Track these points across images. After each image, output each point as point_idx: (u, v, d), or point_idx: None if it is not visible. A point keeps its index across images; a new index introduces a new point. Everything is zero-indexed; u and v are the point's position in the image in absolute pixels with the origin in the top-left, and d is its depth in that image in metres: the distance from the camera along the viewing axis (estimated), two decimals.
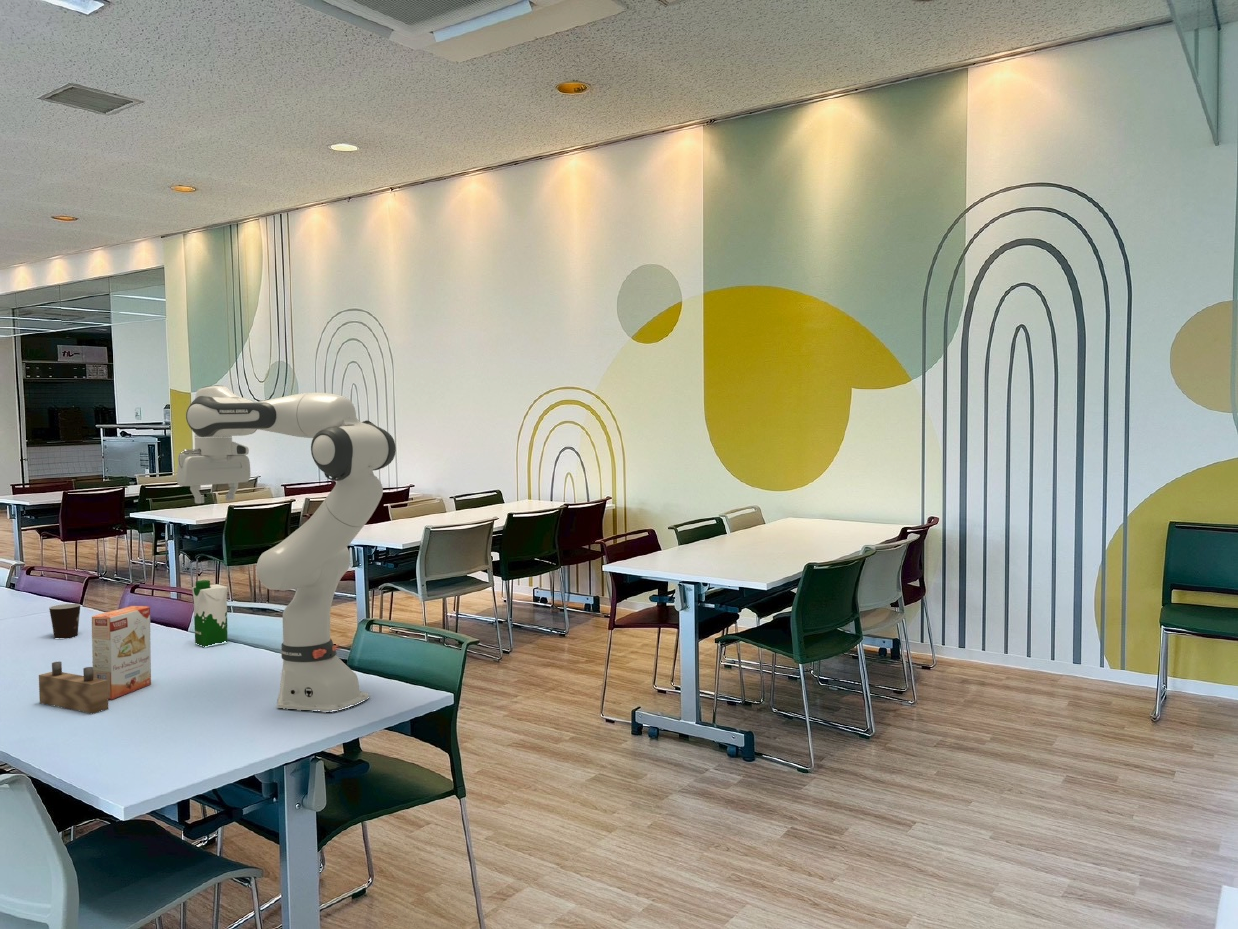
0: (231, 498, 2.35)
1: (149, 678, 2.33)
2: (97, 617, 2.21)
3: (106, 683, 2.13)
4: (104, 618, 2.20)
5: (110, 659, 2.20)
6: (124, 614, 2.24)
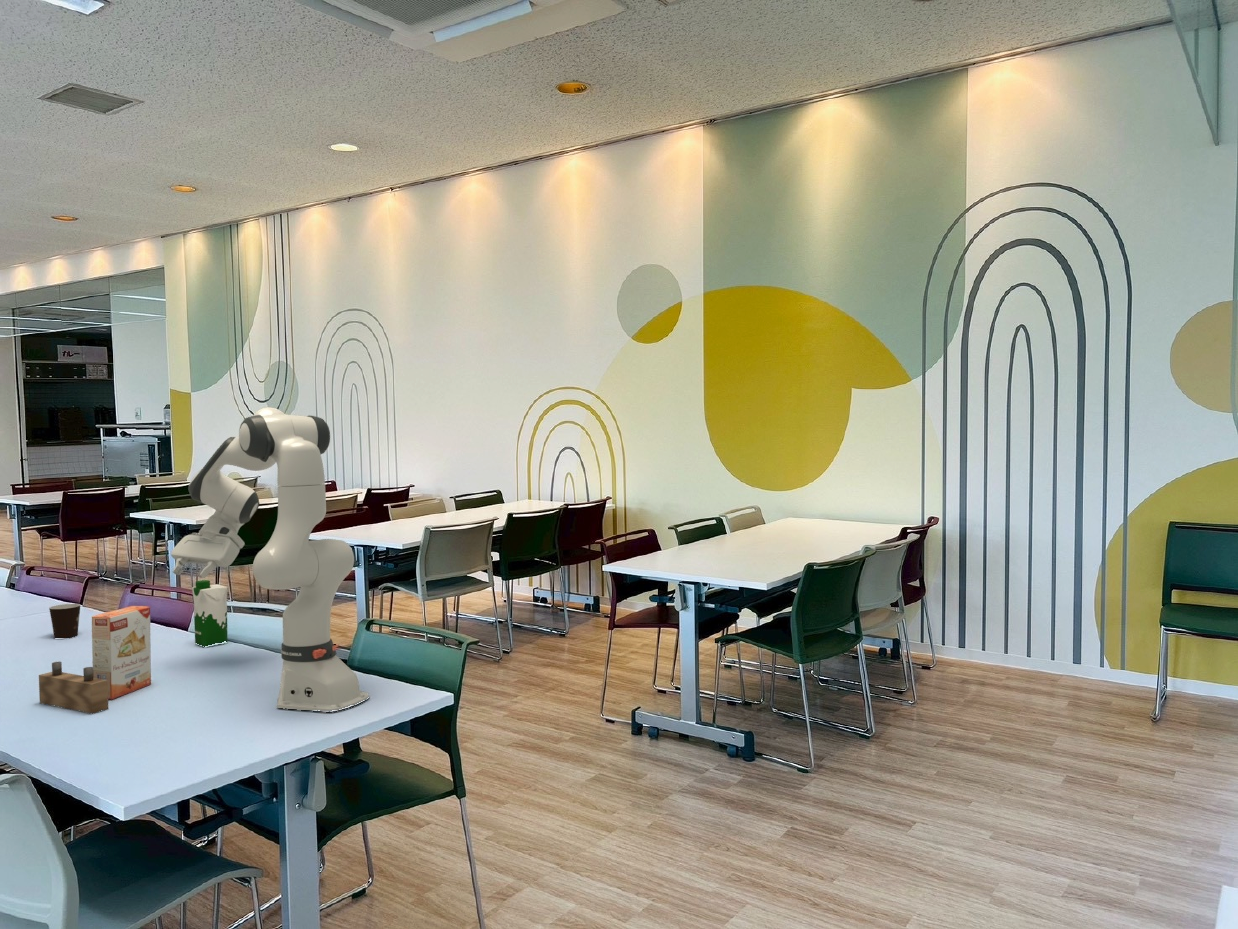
0: (199, 573, 2.43)
1: (149, 678, 2.33)
2: (97, 617, 2.21)
3: (106, 683, 2.13)
4: (104, 618, 2.20)
5: (110, 659, 2.20)
6: (124, 614, 2.24)
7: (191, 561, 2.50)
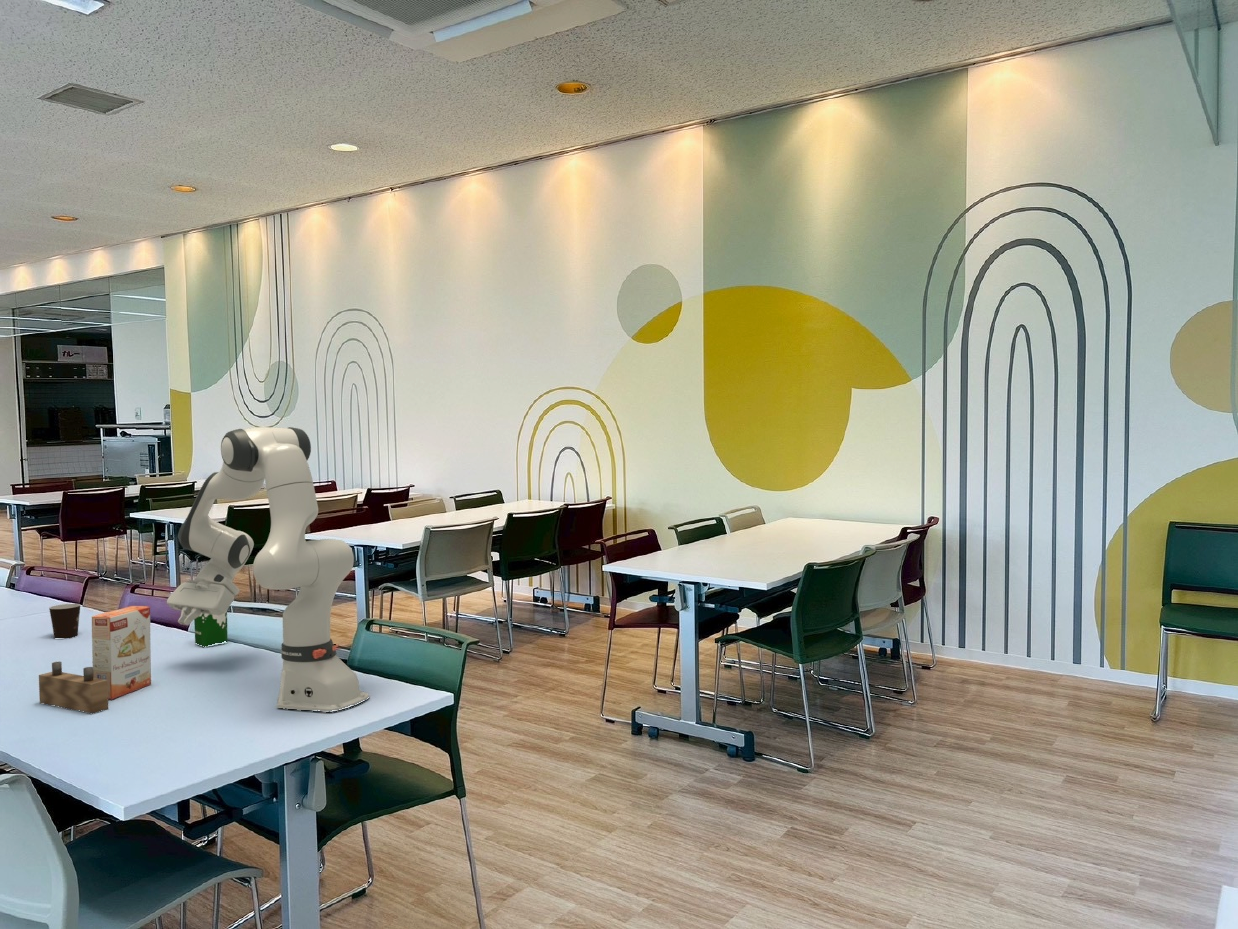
0: (183, 620, 2.43)
1: (149, 678, 2.33)
2: (97, 617, 2.21)
3: (106, 683, 2.13)
4: (104, 618, 2.20)
5: (110, 659, 2.20)
6: (124, 614, 2.24)
7: None
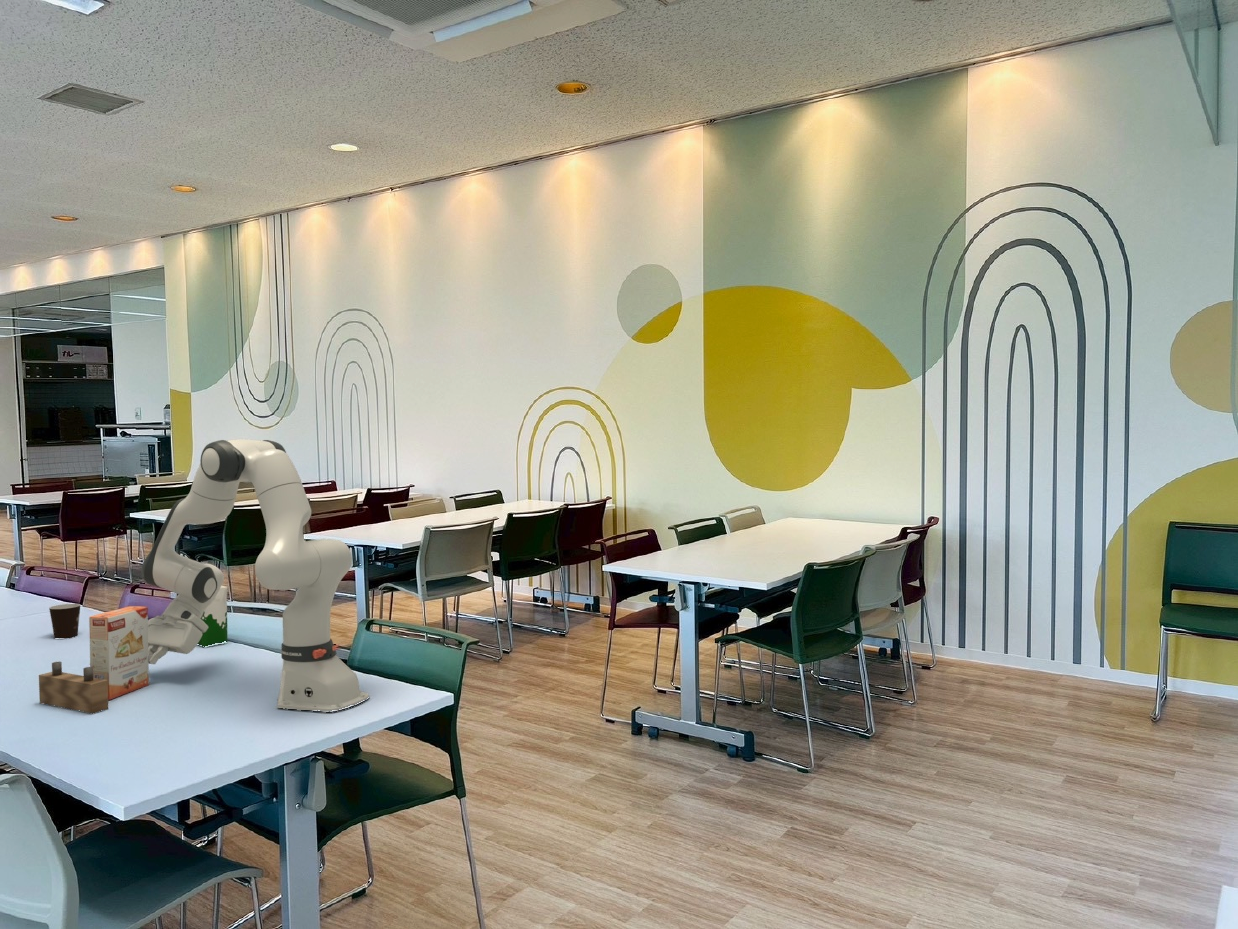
0: (148, 659, 2.34)
1: (147, 678, 2.33)
2: (95, 617, 2.20)
3: (106, 683, 2.13)
4: (102, 618, 2.20)
5: (108, 659, 2.20)
6: (122, 614, 2.24)
7: None
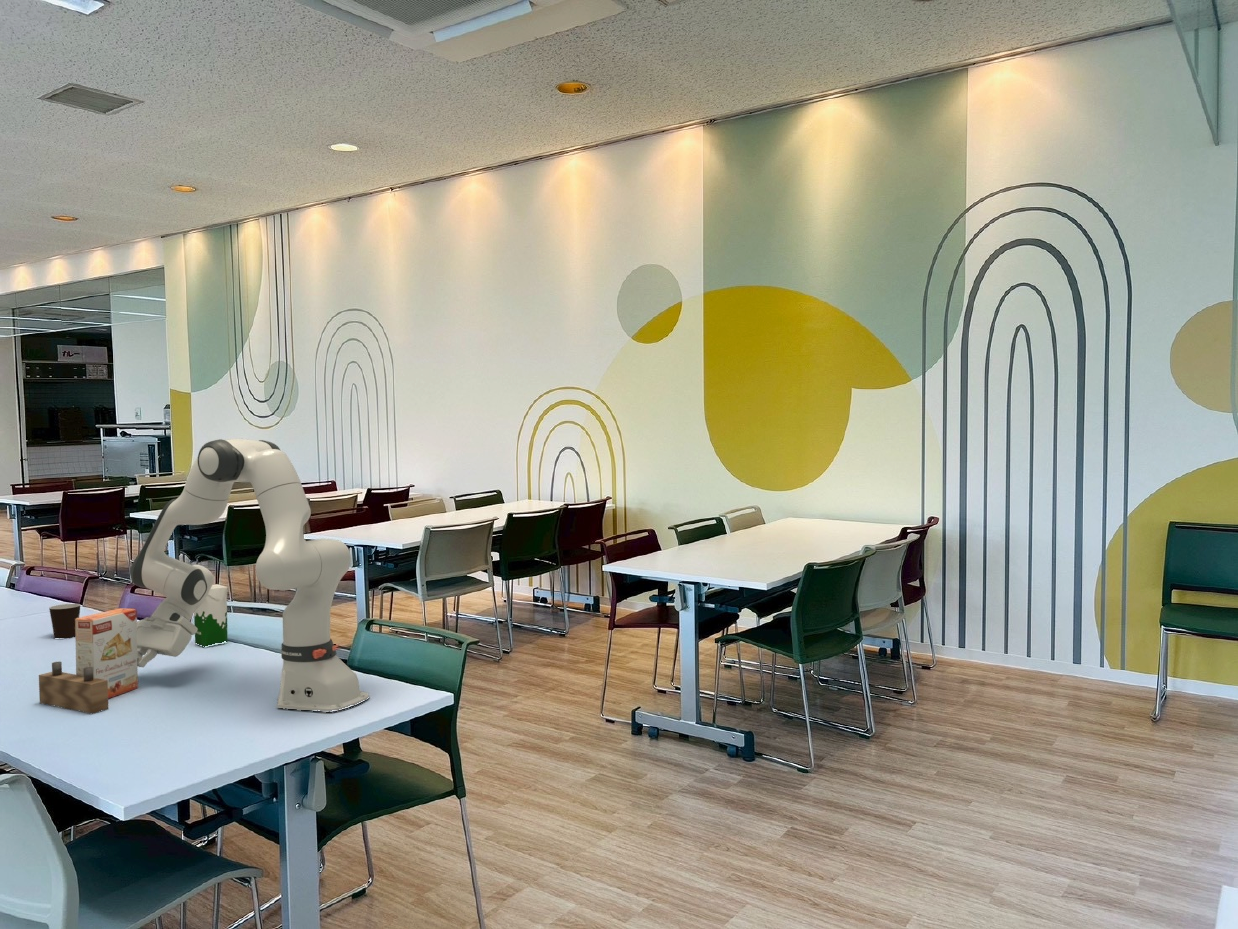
0: (137, 662, 2.31)
1: (136, 682, 2.30)
2: (80, 620, 2.18)
3: (106, 683, 2.13)
4: (87, 621, 2.17)
5: (93, 662, 2.17)
6: (108, 617, 2.21)
7: None
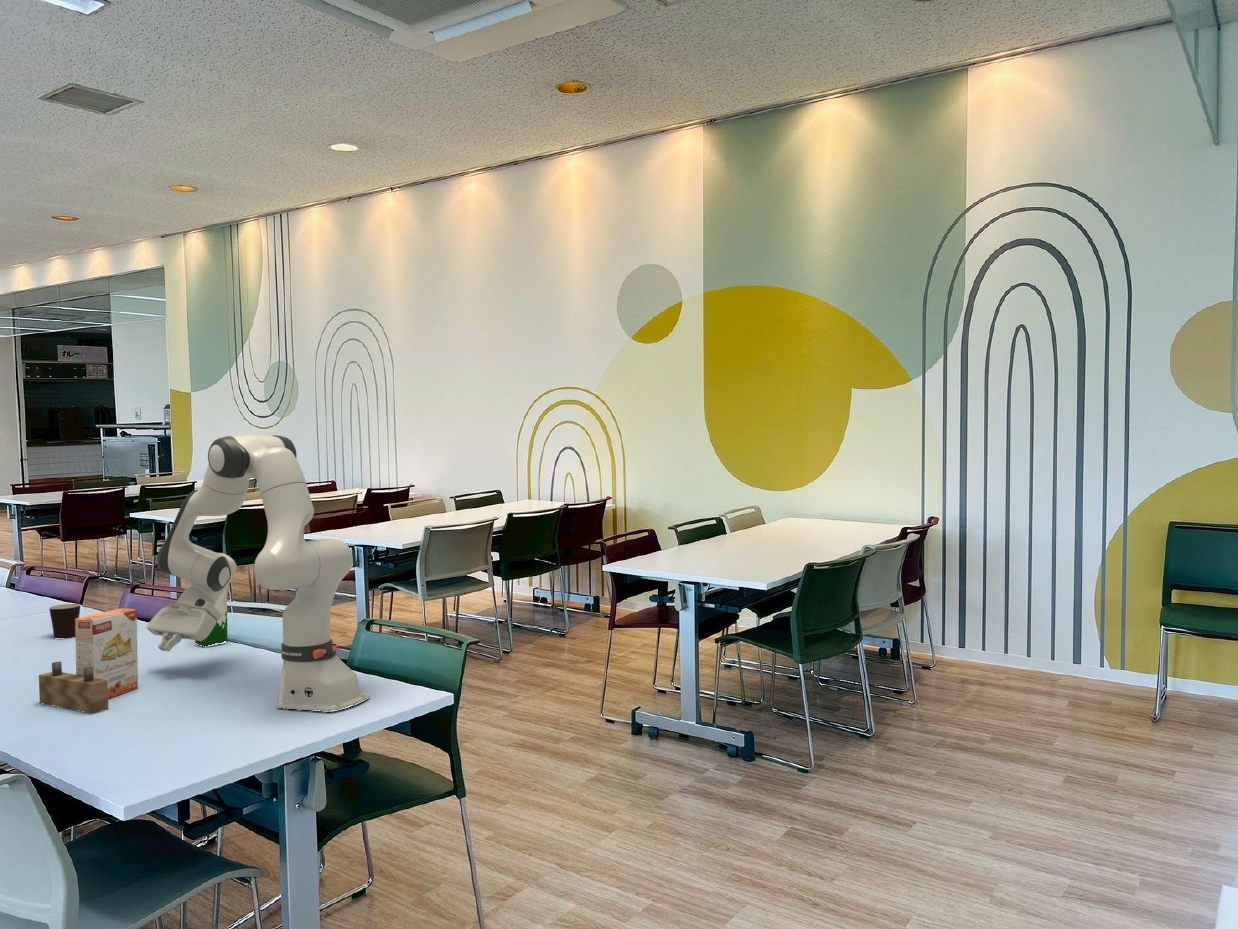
0: (163, 646, 2.38)
1: (136, 682, 2.30)
2: (80, 620, 2.18)
3: (106, 683, 2.13)
4: (87, 621, 2.17)
5: (93, 662, 2.17)
6: (108, 617, 2.21)
7: None
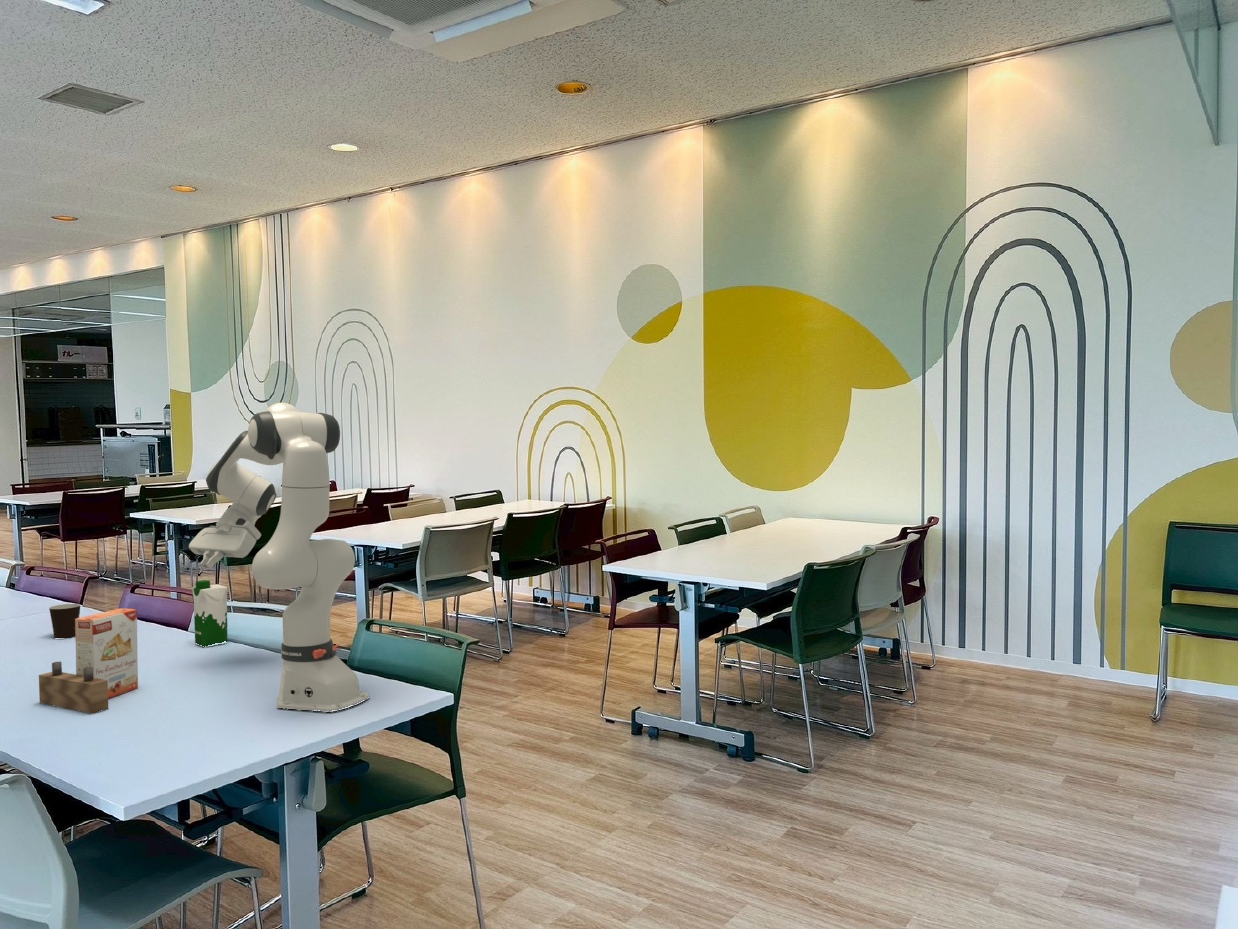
0: (205, 562, 2.45)
1: (136, 682, 2.30)
2: (80, 620, 2.18)
3: (106, 683, 2.13)
4: (87, 621, 2.17)
5: (93, 662, 2.17)
6: (108, 617, 2.21)
7: None
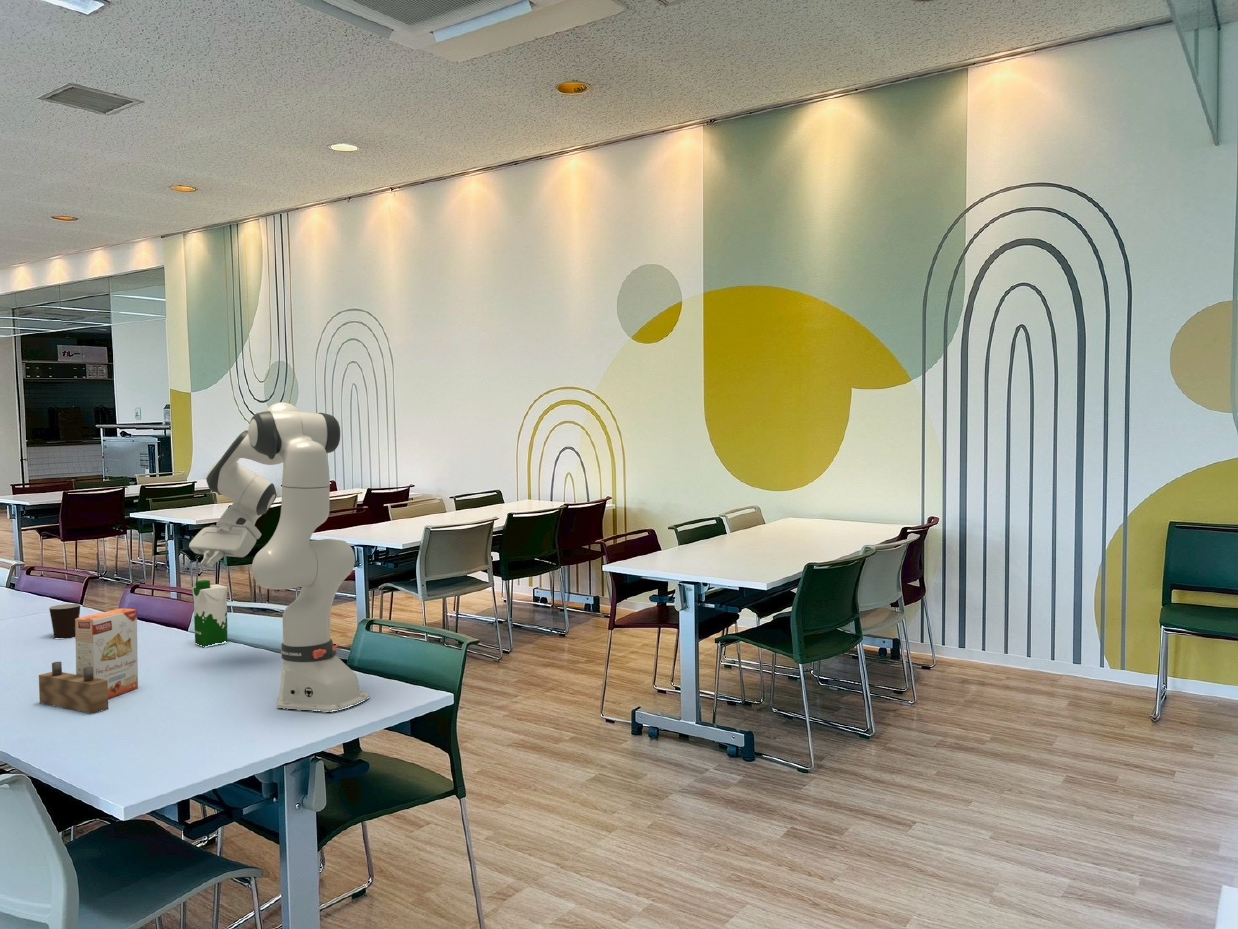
0: (205, 562, 2.45)
1: (136, 682, 2.30)
2: (80, 620, 2.18)
3: (106, 683, 2.13)
4: (87, 621, 2.17)
5: (93, 662, 2.17)
6: (108, 617, 2.21)
7: None
